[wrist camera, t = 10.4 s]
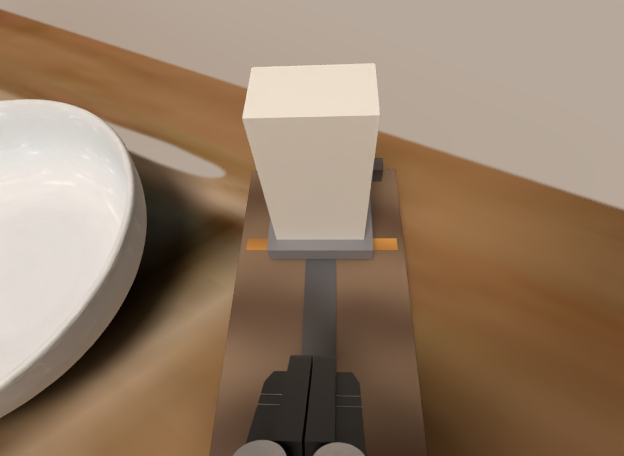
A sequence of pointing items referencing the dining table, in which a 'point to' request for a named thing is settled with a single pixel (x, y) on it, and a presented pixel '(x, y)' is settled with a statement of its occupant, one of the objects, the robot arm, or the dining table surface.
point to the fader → (315, 157)
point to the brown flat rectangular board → (325, 326)
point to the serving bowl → (61, 239)
